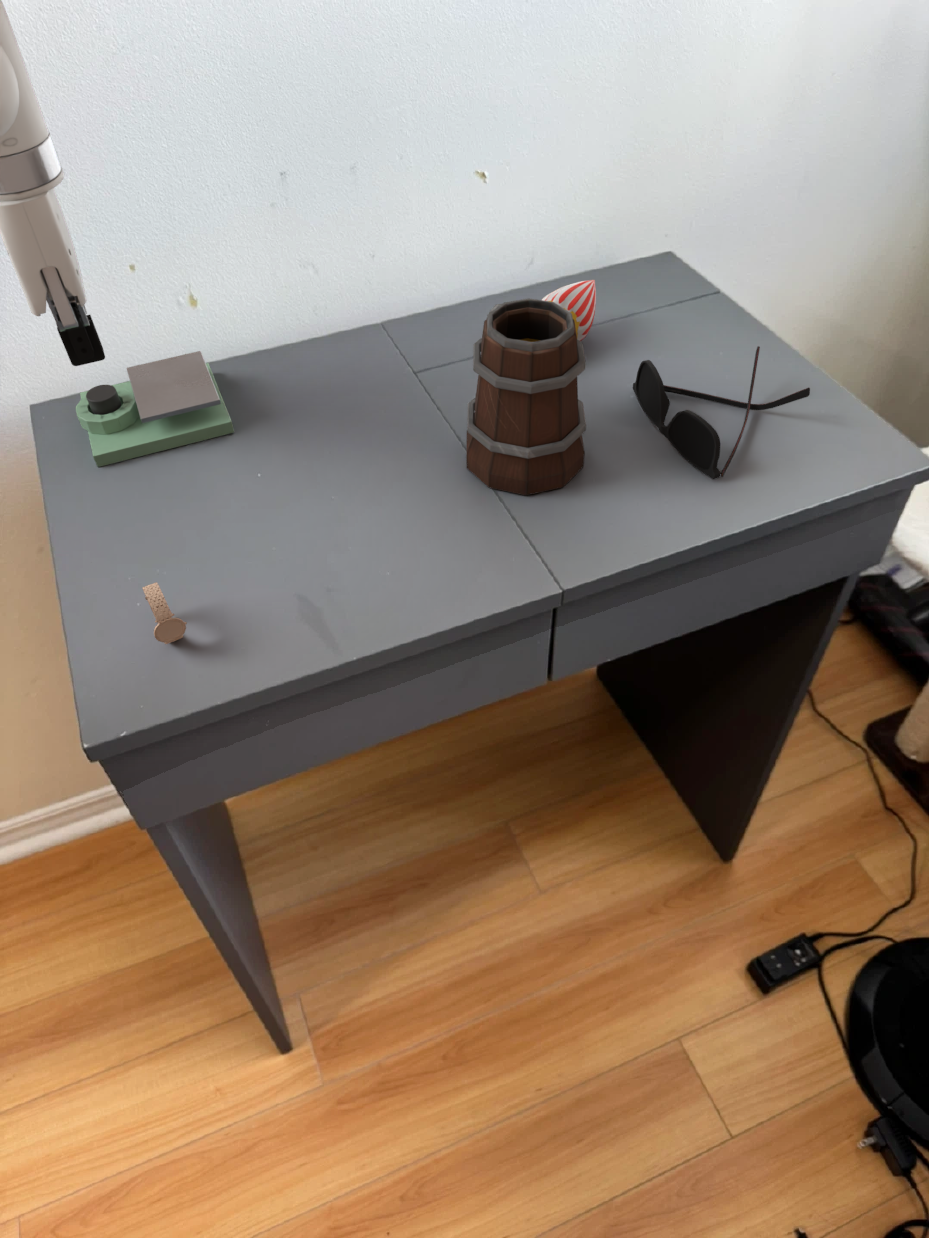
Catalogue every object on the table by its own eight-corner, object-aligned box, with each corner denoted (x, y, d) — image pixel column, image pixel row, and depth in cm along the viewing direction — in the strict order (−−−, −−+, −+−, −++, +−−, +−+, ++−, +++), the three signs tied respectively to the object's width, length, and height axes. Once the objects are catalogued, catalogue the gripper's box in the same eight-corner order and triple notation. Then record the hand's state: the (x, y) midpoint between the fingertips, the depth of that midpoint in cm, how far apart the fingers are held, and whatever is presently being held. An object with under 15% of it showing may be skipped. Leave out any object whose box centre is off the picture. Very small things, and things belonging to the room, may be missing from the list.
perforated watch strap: (163, 657, 71) (145, 616, 68) (146, 619, 74) (128, 578, 70) (195, 643, 72) (178, 603, 68) (177, 607, 75) (160, 566, 71)
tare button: (93, 418, 89) (87, 404, 88) (90, 403, 91) (84, 388, 89) (123, 411, 90) (117, 397, 88) (119, 396, 91) (113, 381, 90)
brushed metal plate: (142, 423, 88) (140, 418, 87) (127, 372, 94) (126, 367, 93) (221, 404, 89) (219, 399, 89) (202, 355, 96) (200, 350, 95)
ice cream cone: (497, 421, 99) (588, 308, 105) (534, 415, 93) (627, 296, 100) (465, 378, 95) (561, 264, 102) (502, 369, 90) (600, 250, 97)
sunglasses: (828, 452, 87) (844, 409, 83) (701, 486, 84) (711, 444, 80) (738, 364, 97) (748, 323, 94) (621, 392, 94) (627, 351, 91)
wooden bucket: (602, 479, 85) (619, 341, 74) (484, 506, 83) (483, 368, 71) (544, 391, 95) (551, 257, 83) (438, 413, 93) (430, 279, 81)
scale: (93, 468, 88) (82, 444, 86) (79, 404, 95) (69, 380, 93) (234, 432, 91) (228, 408, 89) (211, 373, 99) (204, 349, 96)
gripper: (-40, 140, 76) (42, 330, 90) (-34, 209, 67) (56, 409, 81) (49, 125, 78) (116, 314, 92) (67, 191, 69) (138, 390, 82)
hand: (88, 358), depth 86 cm, fingers closed
